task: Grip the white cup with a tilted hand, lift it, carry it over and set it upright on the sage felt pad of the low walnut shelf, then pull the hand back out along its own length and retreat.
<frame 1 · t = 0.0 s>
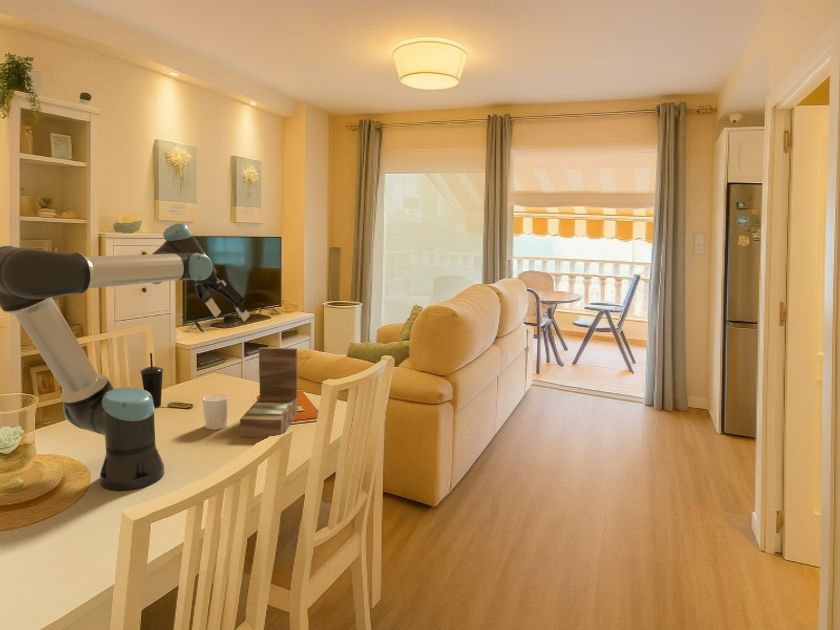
hand: (232, 316, 190), 36 cm above the table, tool tilted 35°, fingers open, 13 cm apart
walnut shelf: (270, 424, 189), on the table
white cup: (216, 426, 186), on the table
drinking cup: (153, 406, 205), on the table
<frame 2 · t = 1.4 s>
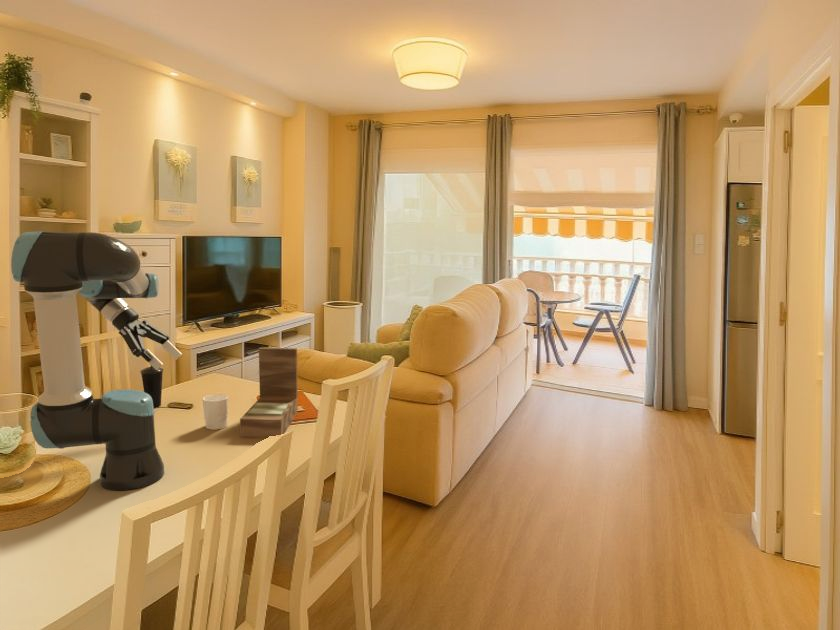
hand: (169, 361, 180), 23 cm above the table, tool tilted 45°, fingers open, 13 cm apart
nothing on the table moved.
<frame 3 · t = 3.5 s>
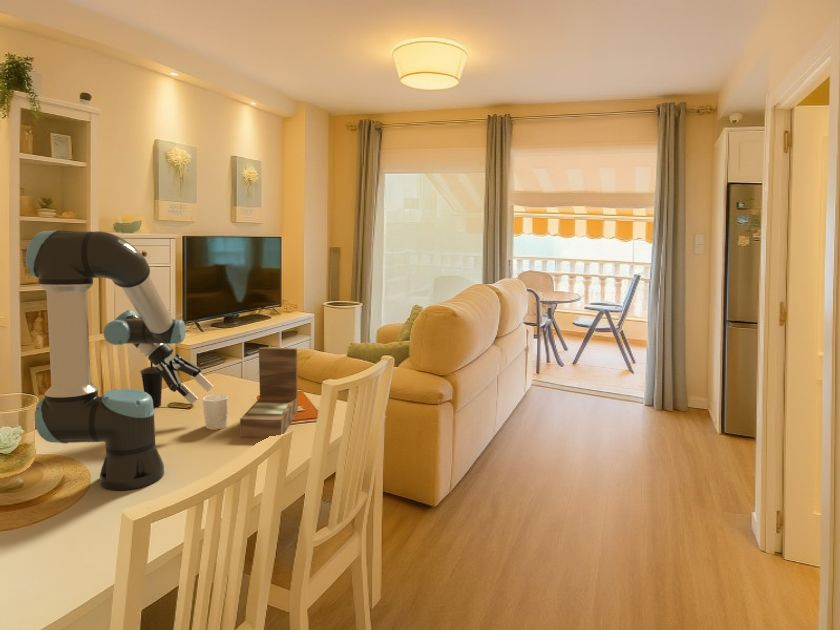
hand: (203, 395, 186), 10 cm above the table, tool tilted 45°, fingers open, 13 cm apart
nothing on the table moved.
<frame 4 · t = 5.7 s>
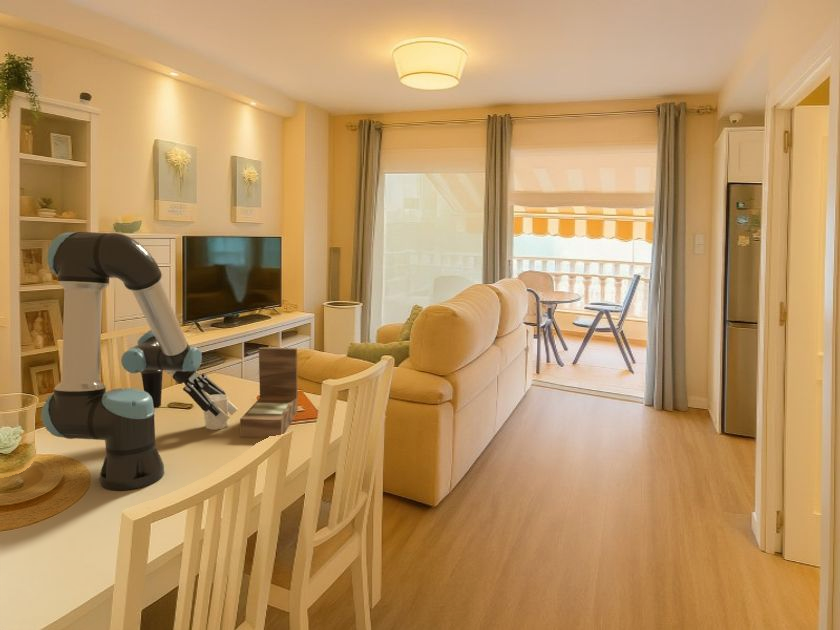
hand: (230, 416, 186), 4 cm above the table, tool tilted 45°, fingers closed on white cup, 8 cm apart
white cup: (216, 426, 186), on the table, touching gripper
everything else where it was.
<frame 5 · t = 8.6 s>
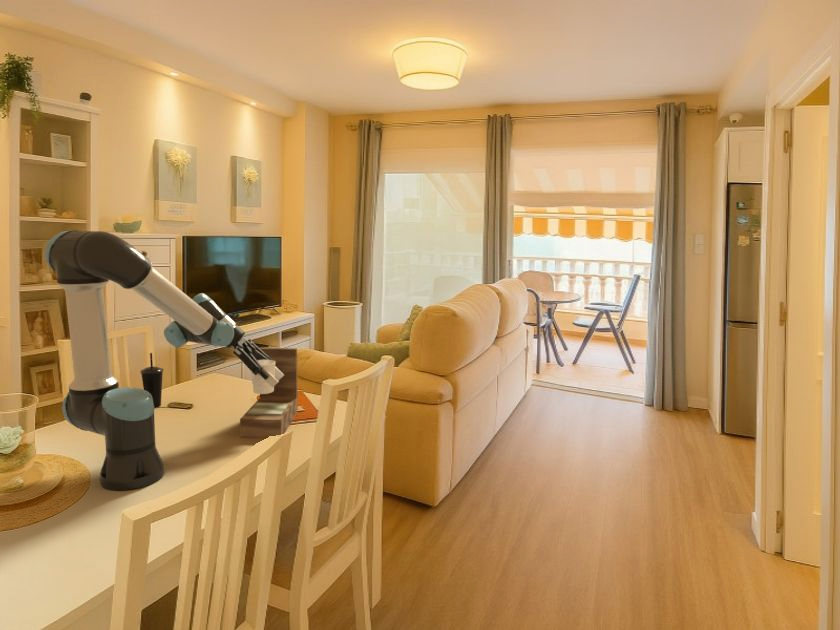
hand: (278, 381, 186), 16 cm above the table, tool tilted 45°, fingers closed on white cup, 7 cm apart
white cup: (263, 391, 186), point 12 cm above the table, touching gripper
everything else where it was.
when the fingers open (10 cm above the table, at t = 11.5 s): white cup stays where it is, resting on walnut shelf.
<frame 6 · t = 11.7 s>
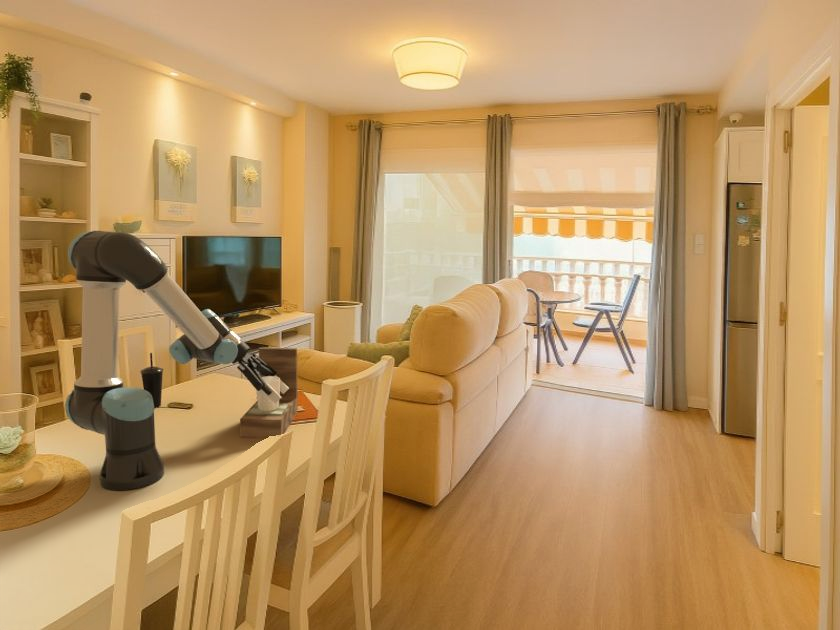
hand: (282, 395, 186), 11 cm above the table, tool tilted 45°, fingers open, 9 cm apart
white cup: (268, 408, 186), point 6 cm above the table, touching walnut shelf
everything else where it was.
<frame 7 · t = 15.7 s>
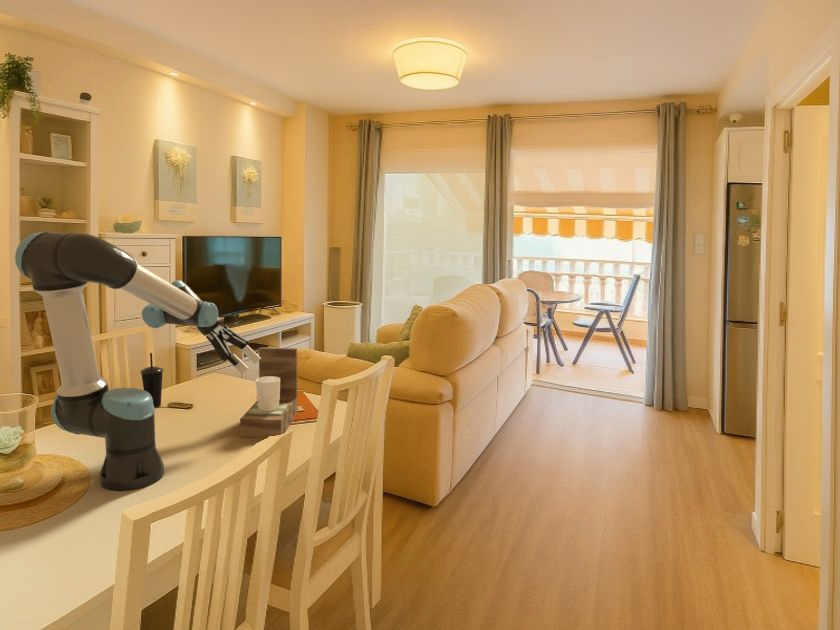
hand: (252, 366, 184), 21 cm above the table, tool tilted 45°, fingers open, 13 cm apart
nothing on the table moved.
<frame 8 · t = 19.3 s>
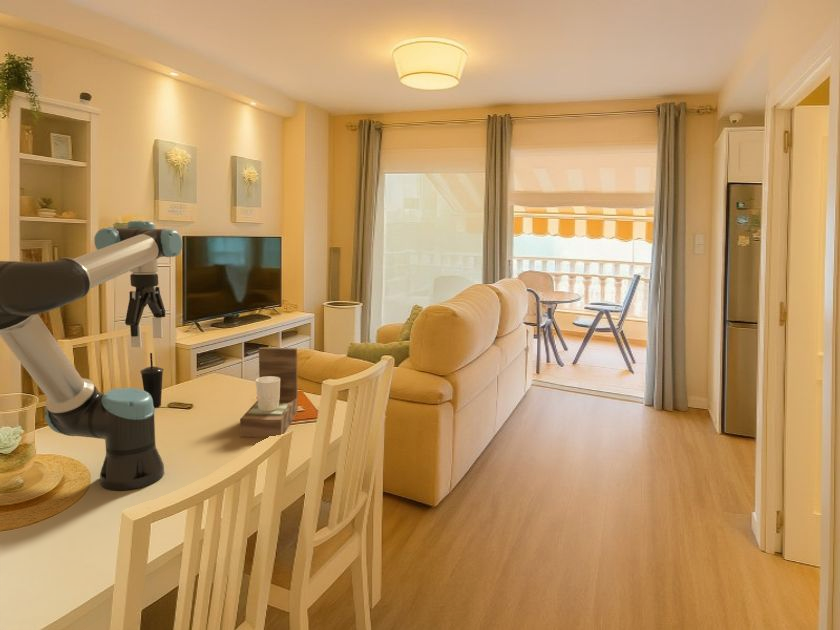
hand: (147, 342, 171), 31 cm above the table, tool pointing down, fingers open, 13 cm apart
nothing on the table moved.
at the end: white cup inside the target area (1.5 cm from its centre), point 6.2 cm above the table; white cup tilted 0°; the gripper is holding nothing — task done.
